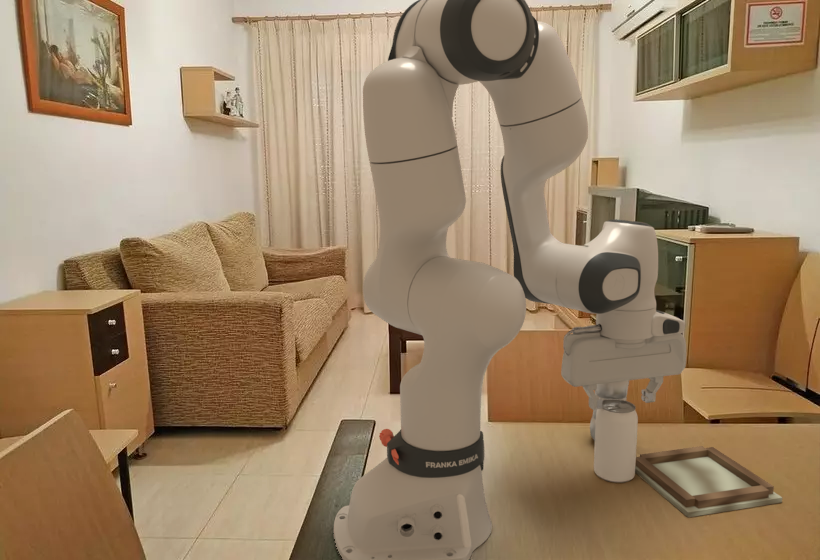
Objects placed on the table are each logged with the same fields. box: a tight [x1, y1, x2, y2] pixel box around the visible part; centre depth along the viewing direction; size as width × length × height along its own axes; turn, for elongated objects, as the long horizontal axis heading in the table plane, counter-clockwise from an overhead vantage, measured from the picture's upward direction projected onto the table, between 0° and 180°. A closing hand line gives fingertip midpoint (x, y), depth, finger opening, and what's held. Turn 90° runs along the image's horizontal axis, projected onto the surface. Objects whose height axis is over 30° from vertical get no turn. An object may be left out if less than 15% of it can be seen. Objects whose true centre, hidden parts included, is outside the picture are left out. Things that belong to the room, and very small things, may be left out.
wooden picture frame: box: [635, 445, 783, 518], centre depth 99 cm, size 16×16×2 cm
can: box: [593, 399, 639, 484], centre depth 102 cm, size 6×6×12 cm
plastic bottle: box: [589, 380, 630, 442], centre depth 112 cm, size 6×7×20 cm
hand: (622, 404), depth 101 cm, fingers open, 8 cm apart
